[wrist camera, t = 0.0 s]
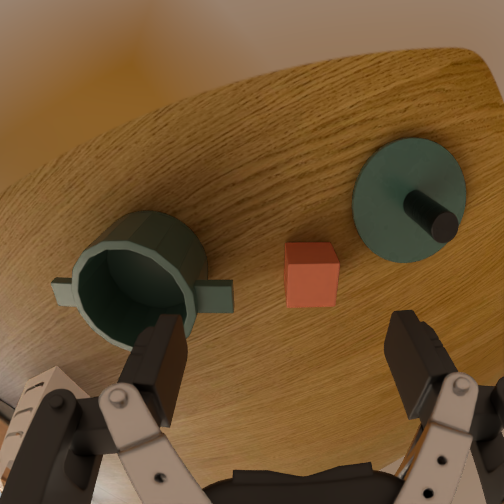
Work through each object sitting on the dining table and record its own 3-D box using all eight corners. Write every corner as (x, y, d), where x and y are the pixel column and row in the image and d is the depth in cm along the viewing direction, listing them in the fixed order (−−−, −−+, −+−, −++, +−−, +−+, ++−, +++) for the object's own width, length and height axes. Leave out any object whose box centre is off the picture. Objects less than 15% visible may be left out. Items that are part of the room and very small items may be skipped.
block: (284, 242, 28) (288, 264, 24) (330, 241, 28) (340, 263, 24) (284, 282, 30) (286, 308, 26) (327, 281, 29) (335, 306, 26)
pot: (70, 215, 27) (32, 243, 21) (235, 207, 27) (227, 238, 21) (94, 306, 32) (68, 345, 26) (240, 311, 31) (235, 358, 25)
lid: (352, 130, 24) (382, 140, 18) (466, 143, 23) (511, 159, 17) (344, 258, 28) (364, 300, 22) (448, 256, 28) (482, 291, 22)
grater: (73, 420, 43) (34, 514, 25) (27, 380, 39) (-25, 473, 21) (108, 412, 40) (67, 524, 22) (57, 365, 37) (-5, 479, 19)
